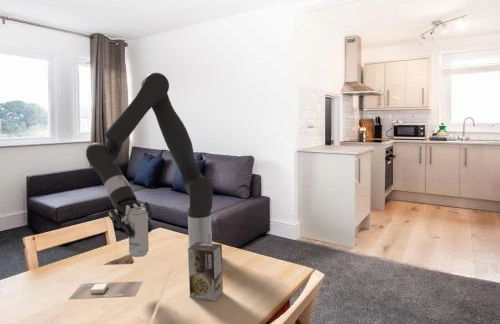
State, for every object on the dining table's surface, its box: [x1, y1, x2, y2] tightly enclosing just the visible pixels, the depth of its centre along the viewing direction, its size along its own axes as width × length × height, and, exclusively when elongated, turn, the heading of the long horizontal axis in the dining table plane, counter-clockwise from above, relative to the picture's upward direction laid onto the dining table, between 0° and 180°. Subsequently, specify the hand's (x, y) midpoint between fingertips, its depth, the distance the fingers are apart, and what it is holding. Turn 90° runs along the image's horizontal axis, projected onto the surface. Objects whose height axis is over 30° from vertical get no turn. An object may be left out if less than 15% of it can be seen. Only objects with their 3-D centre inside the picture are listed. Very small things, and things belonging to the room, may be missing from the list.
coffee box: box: [187, 242, 224, 302], centre depth 109 cm, size 9×6×16 cm
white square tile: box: [91, 282, 109, 293], centre depth 111 cm, size 4×4×1 cm
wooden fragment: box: [103, 253, 135, 266], centre depth 131 cm, size 26×11×1 cm, turn 166°
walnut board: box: [68, 280, 143, 300], centre depth 111 cm, size 20×10×1 cm, turn 94°
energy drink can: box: [128, 207, 150, 258], centre depth 111 cm, size 6×6×15 cm
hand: (141, 233), depth 110 cm, fingers closed on energy drink can, 6 cm apart
